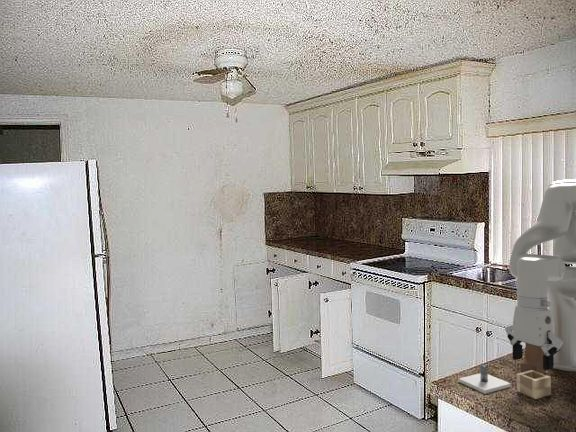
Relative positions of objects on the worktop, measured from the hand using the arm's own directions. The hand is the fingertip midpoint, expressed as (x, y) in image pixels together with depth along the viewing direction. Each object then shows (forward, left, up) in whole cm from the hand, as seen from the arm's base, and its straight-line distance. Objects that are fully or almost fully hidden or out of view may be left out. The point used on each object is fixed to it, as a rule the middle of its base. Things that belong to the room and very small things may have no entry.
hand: (532, 364), depth 133 cm
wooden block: (-12, -9, -9) cm, 17 cm away
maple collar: (-1, 0, -8) cm, 8 cm away
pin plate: (+6, -11, -8) cm, 15 cm away
